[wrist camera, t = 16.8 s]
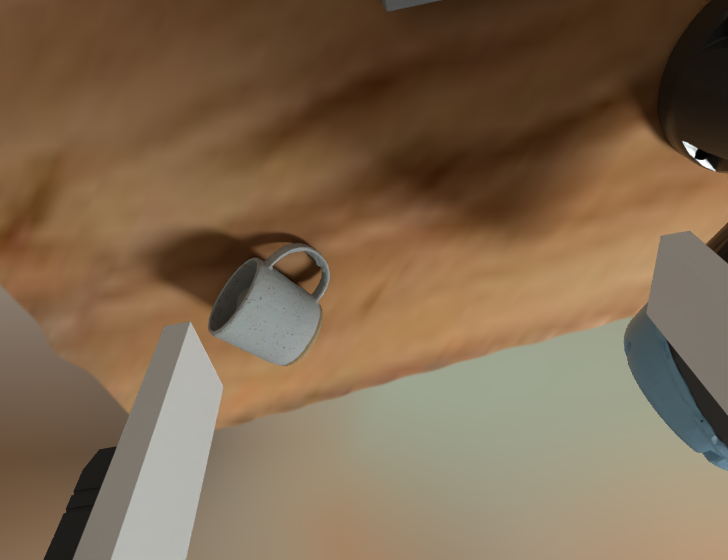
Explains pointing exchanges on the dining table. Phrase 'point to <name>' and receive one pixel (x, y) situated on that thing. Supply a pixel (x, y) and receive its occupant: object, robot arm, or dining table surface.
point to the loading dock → (403, 3)
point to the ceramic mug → (270, 309)
